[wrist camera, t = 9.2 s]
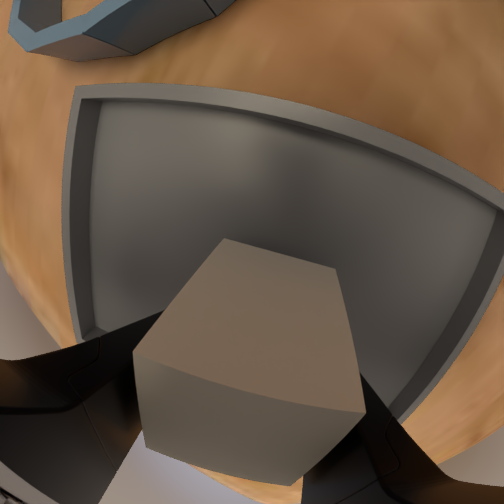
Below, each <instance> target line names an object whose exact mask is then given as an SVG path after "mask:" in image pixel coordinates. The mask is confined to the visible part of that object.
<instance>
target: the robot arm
mask: <svg viewBox="0 0 504 504" xmlns="http://www.w3.org/2000/svg"><path fill="white" fill-rule="evenodd" d="M164 311H165V310H163V311H160V312H158V313H155V314H153V315H151V316H148V317H146V318H143V319H141V320H138V321H136V322H133V323H131V324H128V325H126V326H123V327H121V328H118V329H116V330H113V331H111V332H108V333H106V334H103V335H101V336H100V337H96V338H93V339H90V340H88V341H85V342H82V343H80V344H77V345H74V346H71V347H67V348H64V349H60V350H57V351H53V352H50V353H46V354H42V355H38V356H34V357H30V358H26V359H21V360H12V361H11V360H3V359H0V504H98V503H99V502H100V500H101V498H102V496H103V495H104V493H105V491H106V490H107V488H108V486H109V484H110V483H111V481H112V479H113V478H114V476H115V474H116V471H117V470H118V469H119V467H120V466H121V464H122V462H123V460H124V459H125V457H126V455H127V454H128V452H129V450H130V449H131V447H132V445H133V443H134V442H135V440H136V438H137V437H138V435H139V433H140V432H141V430H142V424H141V418H140V411H139V405H138V398H137V390H136V382H135V372H134V362H133V350H134V349H135V348H136V346H137V345H138V344H139V343H140V341H141V340H142V339H143V337H144V336H145V335H146V334H147V332H148V331H149V330H150V328H151V327H152V326H153V325H154V323H155V322H156V321H157V320H158V318H159V317H160V316H161V314H162V313H163V312H164ZM359 374H360V379H361V385H362V390H363V396H364V403H365V409H366V414H365V415H364V416H363V417H362V418H361V420H360V421H359V422H358V423H357V424H356V425H355V426H354V427H353V428H352V429H351V430H350V432H349V433H348V434H347V435H346V436H345V437H344V438H343V439H342V440H341V441H340V442H339V443H338V444H337V445H336V446H335V447H334V448H333V449H332V450H331V451H330V452H329V453H328V454H327V455H326V456H324V457H323V458H322V459H321V460H320V461H319V462H318V463H317V464H316V465H315V466H313V467H312V468H311V469H310V470H309V471H308V472H307V473H305V474H304V475H303V488H302V499H301V504H504V487H500V486H490V485H482V484H474V483H468V482H462V481H458V480H455V479H453V478H451V477H449V476H447V475H446V474H445V473H444V472H443V471H441V469H440V468H438V466H437V465H436V464H435V463H434V462H433V461H432V460H431V459H430V458H429V457H428V456H427V454H426V453H425V452H424V451H423V450H422V449H421V448H420V447H419V446H418V445H417V444H416V443H415V441H414V440H413V439H412V438H411V437H410V436H409V435H408V433H407V432H406V431H405V430H404V428H403V427H402V426H401V425H400V423H399V422H398V421H397V419H396V418H395V417H394V416H392V413H391V412H390V410H389V409H388V408H387V406H386V405H385V404H384V403H383V401H382V400H381V399H380V397H379V396H378V395H377V393H376V392H375V391H374V390H373V388H372V387H371V386H370V384H369V383H368V382H367V380H366V379H365V378H364V377H363V375H362V374H361V373H360V371H359Z"/></svg>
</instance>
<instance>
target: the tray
mask: <svg viewBox="0 0 504 504" xmlns="http://www.w3.org/2000/svg"><path fill="white" fill-rule="evenodd" d="M224 238H225V239H229V240H233V241H236V242H240V243H244V244H247V245H251V246H255V247H258V248H262V249H265V250H269V251H273V252H276V253H280V254H284V255H287V256H291V257H294V258H298V259H302V260H305V261H309V262H312V263H316V264H319V265H323V266H327V267H330V268H334V269H336V273H337V277H338V281H339V284H340V288H341V292H342V296H343V300H344V304H345V308H346V312H347V317H348V321H349V325H350V330H351V334H352V339H353V343H354V348H355V353H356V358H357V363H358V368H359V371H360V373H361V374H362V375H363V377H364V378H365V379H366V380H367V382H368V383H369V384H370V386H371V387H372V388H373V390H374V391H375V392H376V393H377V395H378V396H379V397H380V399H381V400H382V401H383V403H384V404H385V405H386V406H387V408H388V409H389V410H390V412H391V413H392V416H394V417H395V418H396V419H397V421H398V422H399V423H400V425H401V424H402V423H403V422H404V421H405V420H406V419H407V418H408V417H409V416H410V415H411V414H412V413H413V411H414V410H415V409H416V408H417V407H418V406H419V405H420V404H421V403H422V401H423V400H424V399H425V398H426V397H427V396H428V394H429V393H430V392H431V391H432V390H433V388H434V387H435V386H436V385H437V383H438V382H439V381H440V380H441V378H442V377H443V376H444V374H445V373H446V372H447V370H448V369H449V368H450V366H451V365H452V364H453V362H454V361H455V359H456V358H457V357H458V355H459V354H460V352H461V351H462V349H463V348H464V346H465V345H466V343H467V342H468V340H469V338H470V337H471V335H472V334H473V332H474V330H475V329H476V327H477V325H478V324H479V322H480V320H481V318H482V317H483V315H484V313H485V311H486V309H487V308H488V306H489V304H490V302H491V300H492V298H493V296H494V294H495V292H496V290H497V288H498V286H499V283H500V281H501V279H502V277H503V275H504V193H502V192H501V191H499V190H498V189H496V188H495V187H493V186H492V185H490V184H489V183H487V182H485V181H484V180H482V179H481V178H479V177H477V176H476V175H474V174H472V173H471V172H469V171H467V170H466V169H464V168H462V167H460V166H459V165H457V164H455V163H453V162H451V161H449V160H448V159H446V158H444V157H442V156H440V155H438V154H436V153H434V152H432V151H430V150H428V149H426V148H424V147H422V146H419V145H417V144H415V143H413V142H411V141H408V140H406V139H404V138H401V137H399V136H397V135H394V134H392V133H389V132H387V131H384V130H382V129H379V128H377V127H374V126H371V125H369V124H366V123H363V122H360V121H357V120H355V119H352V118H349V117H345V116H342V115H339V114H336V113H333V112H329V111H326V110H323V109H319V108H315V107H312V106H308V105H304V104H300V103H296V102H292V101H288V100H283V99H279V98H274V97H269V96H264V95H259V94H254V93H248V92H242V91H236V90H229V89H221V88H213V87H204V86H194V85H181V84H163V83H112V84H95V85H83V86H75V91H74V95H73V100H72V105H71V110H70V116H69V122H68V128H67V135H66V143H65V152H64V163H63V177H62V244H63V259H64V270H65V279H66V287H67V294H68V301H69V307H70V313H71V318H72V323H73V328H74V333H75V338H76V342H77V343H79V344H80V343H82V342H85V341H88V340H90V339H93V338H96V337H100V336H101V335H103V334H106V333H108V332H111V331H113V330H116V329H118V328H121V327H123V326H126V325H128V324H131V323H133V322H136V321H138V320H141V319H143V318H146V317H148V316H151V315H153V314H155V313H158V312H160V311H163V310H165V309H166V308H167V307H168V306H169V304H170V303H171V302H172V301H173V299H174V298H175V297H176V296H177V294H178V293H179V292H180V291H181V289H182V288H183V287H184V286H185V285H186V283H187V282H188V281H189V280H190V278H191V277H192V276H193V275H194V273H195V272H196V271H197V270H198V269H199V267H200V266H201V265H202V264H203V263H204V261H205V260H206V259H207V258H208V256H209V255H210V254H211V253H212V252H213V250H214V249H215V248H216V247H217V246H218V244H219V243H220V242H221V241H222V240H223V239H224Z"/></svg>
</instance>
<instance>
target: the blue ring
mask: <svg viewBox="0 0 504 504" xmlns="http://www.w3.org/2000/svg"><path fill="white" fill-rule="evenodd" d="M234 1H235V0H104V1H103V2H102V3H100V4H99V5H97V6H96V7H95V8H93V9H92V10H91V11H89V12H88V13H87V14H84V15H81V16H78V17H75V18H72V19H69V20H66V21H63V22H61V0H13V4H12V9H11V15H10V21H9V28H8V33H9V34H10V35H11V36H12V37H13V38H14V39H15V40H16V41H17V43H18V44H19V45H20V46H21V47H22V48H23V49H24V50H25V51H26V52H30V53H37V54H42V55H48V56H53V57H58V58H63V59H67V60H72V61H76V62H81V61H87V60H94V59H101V58H109V57H118V56H129V55H135V54H138V53H140V52H141V51H143V50H145V49H147V48H149V47H150V46H152V45H154V44H156V43H158V42H160V41H162V40H164V39H166V38H168V37H170V36H172V35H174V34H176V33H178V32H181V31H183V30H185V29H187V28H190V27H192V26H194V25H197V24H199V23H202V22H204V21H207V20H209V19H212V18H214V17H215V15H216V16H218V15H219V14H220V13H221V12H222V11H224V10H225V9H226V8H227V7H228V6H229V5H231V4H232V3H233V2H234Z"/></svg>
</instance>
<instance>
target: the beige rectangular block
mask: <svg viewBox="0 0 504 504" xmlns="http://www.w3.org/2000/svg"><path fill="white" fill-rule="evenodd" d="M133 362H134V372H135V382H136V390H137V398H138V405H139V411H140V418H141V424H142V429H143V435H144V440H145V444H146V447H147V448H149V449H151V450H154V451H156V452H159V453H161V454H164V455H166V456H169V457H172V458H174V459H177V460H180V461H183V462H186V463H189V464H192V465H195V466H198V467H201V468H204V469H208V470H211V471H215V472H219V473H222V474H226V475H230V476H235V477H239V478H244V479H248V480H253V481H259V482H264V483H270V484H277V485H284V486H291V485H292V484H293V483H295V482H296V481H297V480H298V479H299V478H301V477H302V476H303V475H304V474H305V473H307V472H308V471H309V470H310V469H311V468H312V467H313V466H315V465H316V464H317V463H318V462H319V461H320V460H321V459H322V458H323V457H324V456H326V455H327V454H328V453H329V452H330V451H331V450H332V449H333V448H334V447H335V446H336V445H337V444H338V443H339V442H340V441H341V440H342V439H343V438H344V437H345V436H346V435H347V434H348V433H349V432H350V430H351V429H352V428H353V427H354V426H355V425H356V424H357V423H358V422H359V421H360V420H361V418H362V417H363V416H364V415H365V414H366V409H365V403H364V396H363V390H362V385H361V379H360V374H359V368H358V363H357V358H356V353H355V348H354V343H353V339H352V334H351V330H350V325H349V321H348V317H347V312H346V308H345V304H344V300H343V296H342V292H341V288H340V284H339V281H338V277H337V273H336V269H334V268H330V267H327V266H323V265H319V264H316V263H312V262H309V261H305V260H302V259H298V258H294V257H291V256H287V255H284V254H280V253H276V252H273V251H269V250H265V249H262V248H258V247H255V246H251V245H247V244H244V243H240V242H236V241H233V240H229V239H225V238H224V239H223V240H222V241H221V242H220V243H219V244H218V246H217V247H216V248H215V249H214V250H213V252H212V253H211V254H210V255H209V256H208V258H207V259H206V260H205V261H204V263H203V264H202V265H201V266H200V267H199V269H198V270H197V271H196V272H195V273H194V275H193V276H192V277H191V278H190V280H189V281H188V282H187V283H186V285H185V286H184V287H183V288H182V289H181V291H180V292H179V293H178V294H177V296H176V297H175V298H174V299H173V301H172V302H171V303H170V304H169V306H168V307H167V308H166V309H165V311H164V312H163V313H162V314H161V316H160V317H159V318H158V320H157V321H156V322H155V323H154V325H153V326H152V327H151V328H150V330H149V331H148V332H147V334H146V335H145V336H144V337H143V339H142V340H141V341H140V343H139V344H138V345H137V346H136V348H135V349H134V350H133Z"/></svg>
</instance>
